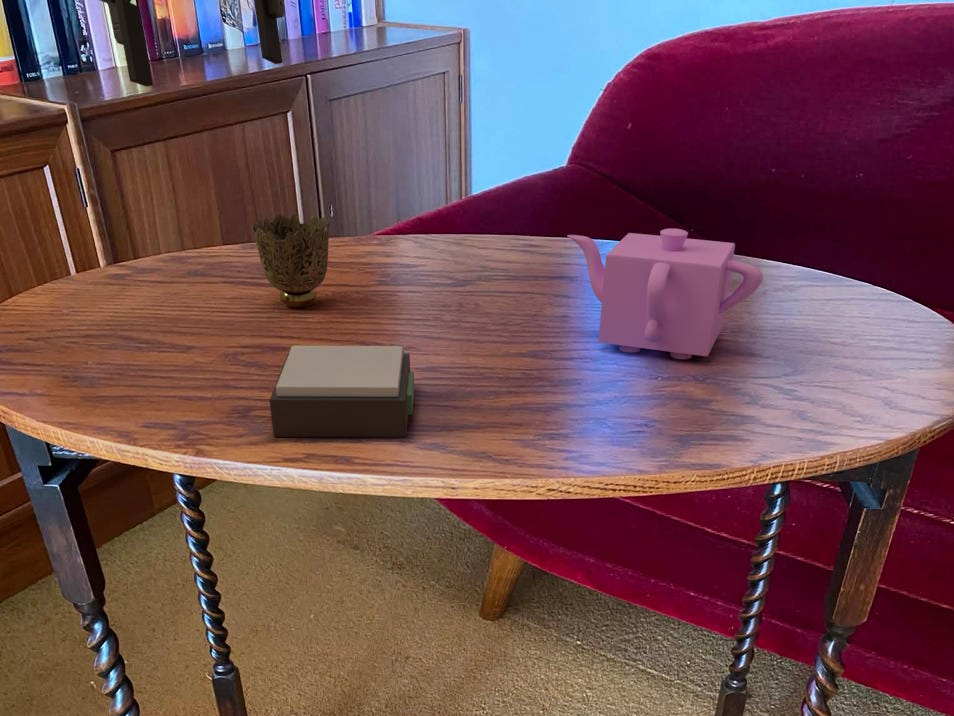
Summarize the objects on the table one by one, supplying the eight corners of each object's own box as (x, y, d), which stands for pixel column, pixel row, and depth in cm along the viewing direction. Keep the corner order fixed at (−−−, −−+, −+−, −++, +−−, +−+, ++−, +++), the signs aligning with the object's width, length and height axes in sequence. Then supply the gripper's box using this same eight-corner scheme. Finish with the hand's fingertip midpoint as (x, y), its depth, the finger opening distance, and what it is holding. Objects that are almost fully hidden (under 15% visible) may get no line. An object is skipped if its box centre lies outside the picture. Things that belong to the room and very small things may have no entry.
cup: (249, 311, 97) (239, 227, 92) (279, 291, 103) (270, 211, 98) (319, 318, 96) (312, 233, 91) (345, 297, 101) (339, 216, 97)
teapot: (541, 352, 88) (547, 236, 83) (581, 309, 99) (589, 203, 93) (739, 379, 84) (761, 257, 78) (758, 331, 94) (778, 220, 88)
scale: (273, 437, 72) (267, 388, 70) (291, 387, 81) (286, 343, 78) (411, 437, 73) (410, 389, 70) (415, 388, 81) (414, 343, 79)
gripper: (312, -224, 82) (346, 59, 89) (63, -160, 88) (113, 99, 95) (274, -270, 75) (313, 40, 82) (7, -197, 82) (65, 85, 89)
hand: (206, 72), depth 89 cm, fingers open, 13 cm apart
